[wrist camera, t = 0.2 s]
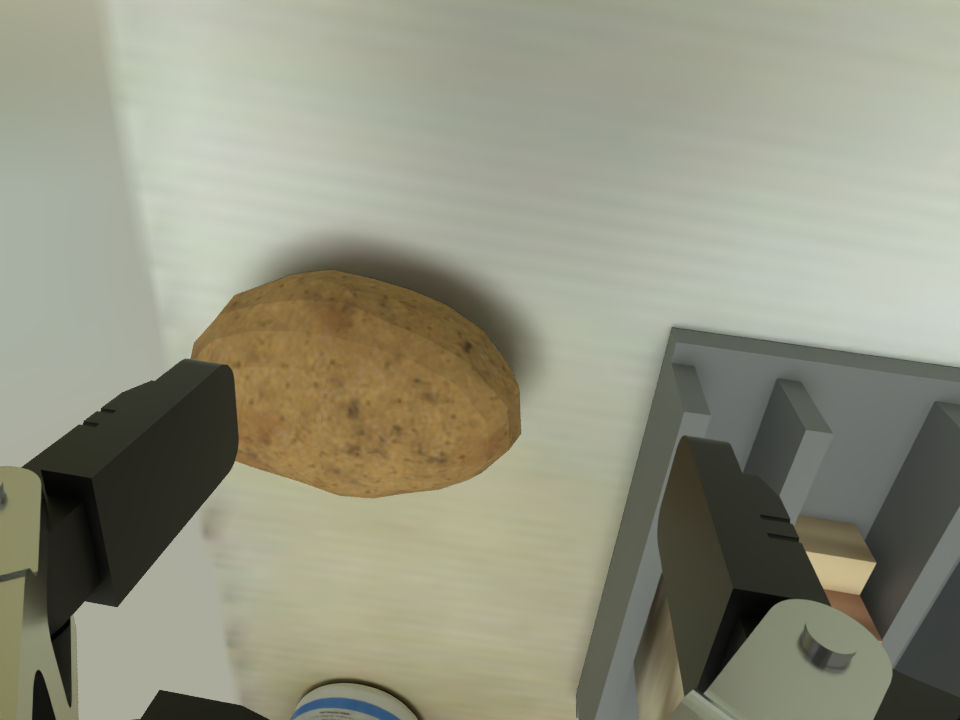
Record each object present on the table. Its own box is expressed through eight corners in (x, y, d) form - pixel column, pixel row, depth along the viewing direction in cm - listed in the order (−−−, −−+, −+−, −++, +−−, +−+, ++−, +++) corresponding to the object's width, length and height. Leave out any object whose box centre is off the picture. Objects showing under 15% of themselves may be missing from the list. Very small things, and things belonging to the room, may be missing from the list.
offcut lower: (768, 510, 31) (783, 547, 29) (855, 523, 30) (876, 562, 28) (723, 624, 35) (732, 665, 32) (799, 638, 34) (814, 680, 32)
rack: (672, 327, 29) (690, 388, 24) (1061, 382, 28) (1164, 459, 23) (576, 695, 41) (575, 785, 36) (842, 744, 40) (879, 844, 35)
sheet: (673, 494, 31) (736, 803, 19) (715, 501, 31) (806, 817, 19) (631, 634, 36) (658, 954, 24) (667, 641, 36) (714, 966, 23)
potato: (518, 448, 33) (502, 563, 26) (254, 408, 34) (170, 508, 27) (544, 268, 28) (533, 348, 21) (238, 228, 29) (131, 293, 22)
